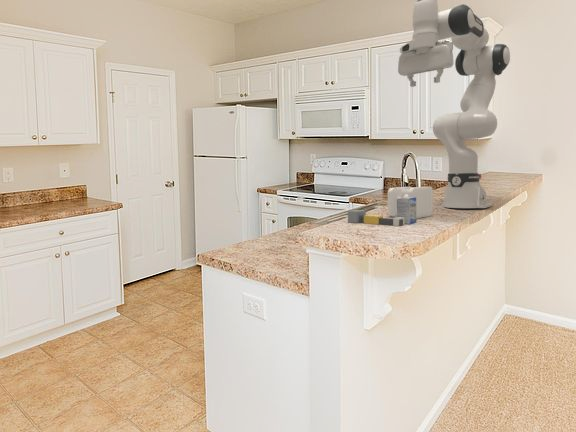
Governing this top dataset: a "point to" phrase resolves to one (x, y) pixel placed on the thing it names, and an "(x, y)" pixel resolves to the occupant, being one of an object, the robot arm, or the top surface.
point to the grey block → (355, 216)
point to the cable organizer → (421, 193)
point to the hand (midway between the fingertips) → (424, 84)
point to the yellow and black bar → (382, 220)
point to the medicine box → (407, 209)
